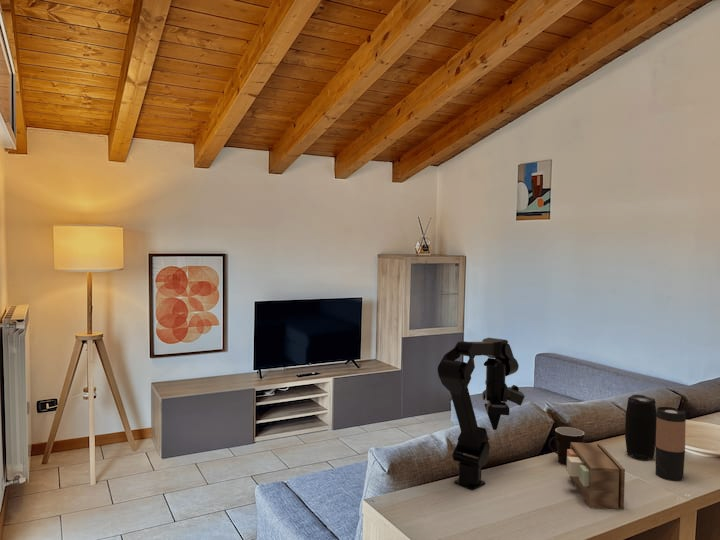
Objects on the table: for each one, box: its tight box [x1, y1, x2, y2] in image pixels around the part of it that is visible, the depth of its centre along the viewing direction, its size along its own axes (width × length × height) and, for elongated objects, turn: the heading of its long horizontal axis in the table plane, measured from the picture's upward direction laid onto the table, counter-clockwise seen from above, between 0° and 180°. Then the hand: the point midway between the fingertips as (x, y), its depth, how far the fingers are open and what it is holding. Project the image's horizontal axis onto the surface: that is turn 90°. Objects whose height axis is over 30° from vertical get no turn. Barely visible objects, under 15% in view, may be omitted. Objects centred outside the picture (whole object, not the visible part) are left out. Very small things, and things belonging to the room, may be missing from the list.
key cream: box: [566, 457, 583, 477], centre depth 150 cm, size 6×4×4 cm, turn 84°
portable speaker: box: [624, 394, 657, 461], centre depth 176 cm, size 9×9×20 cm
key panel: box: [569, 442, 626, 510], centre depth 149 cm, size 8×19×11 cm, turn 174°
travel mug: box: [655, 406, 687, 482], centre depth 161 cm, size 8×8×20 cm
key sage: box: [579, 465, 590, 486], centre depth 143 cm, size 6×4×4 cm, turn 84°
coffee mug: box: [548, 426, 585, 466], centre depth 171 cm, size 12×9×10 cm
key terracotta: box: [567, 449, 576, 457], centre depth 155 cm, size 6×4×4 cm, turn 84°
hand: (494, 429), depth 165 cm, fingers closed
